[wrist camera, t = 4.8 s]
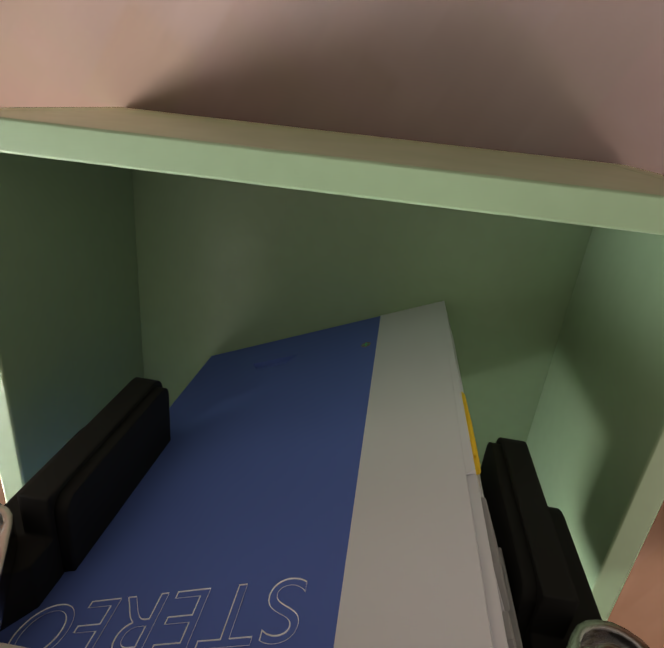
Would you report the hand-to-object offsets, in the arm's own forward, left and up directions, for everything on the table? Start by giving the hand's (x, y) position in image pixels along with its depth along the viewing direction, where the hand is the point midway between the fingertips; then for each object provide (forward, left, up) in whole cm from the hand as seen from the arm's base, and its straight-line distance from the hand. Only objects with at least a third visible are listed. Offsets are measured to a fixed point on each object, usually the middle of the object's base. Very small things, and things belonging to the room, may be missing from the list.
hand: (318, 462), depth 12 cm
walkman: (0, 0, -5) cm, 5 cm away
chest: (0, 0, -6) cm, 6 cm away
